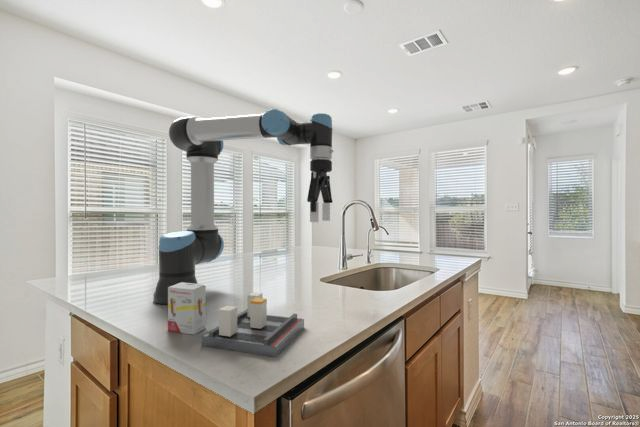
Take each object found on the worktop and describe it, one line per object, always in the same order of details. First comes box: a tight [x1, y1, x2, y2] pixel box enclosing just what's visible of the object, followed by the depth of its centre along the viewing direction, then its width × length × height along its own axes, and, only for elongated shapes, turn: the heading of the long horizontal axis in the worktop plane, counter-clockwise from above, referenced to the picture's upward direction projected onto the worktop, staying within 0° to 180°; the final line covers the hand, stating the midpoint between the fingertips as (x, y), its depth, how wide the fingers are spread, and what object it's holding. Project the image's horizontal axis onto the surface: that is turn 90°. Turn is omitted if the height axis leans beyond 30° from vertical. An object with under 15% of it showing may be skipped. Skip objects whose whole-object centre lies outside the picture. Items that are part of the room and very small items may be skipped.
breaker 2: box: [246, 291, 263, 317], centre depth 87 cm, size 3×3×6 cm
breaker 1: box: [218, 305, 238, 337], centre depth 75 cm, size 3×3×6 cm
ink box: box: [167, 282, 207, 335], centre depth 84 cm, size 9×5×12 cm, turn 72°
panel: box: [201, 309, 305, 358], centre depth 80 cm, size 19×18×4 cm
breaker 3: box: [250, 298, 268, 329], centre depth 80 cm, size 3×3×7 cm
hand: (320, 221), depth 110 cm, fingers open, 13 cm apart
